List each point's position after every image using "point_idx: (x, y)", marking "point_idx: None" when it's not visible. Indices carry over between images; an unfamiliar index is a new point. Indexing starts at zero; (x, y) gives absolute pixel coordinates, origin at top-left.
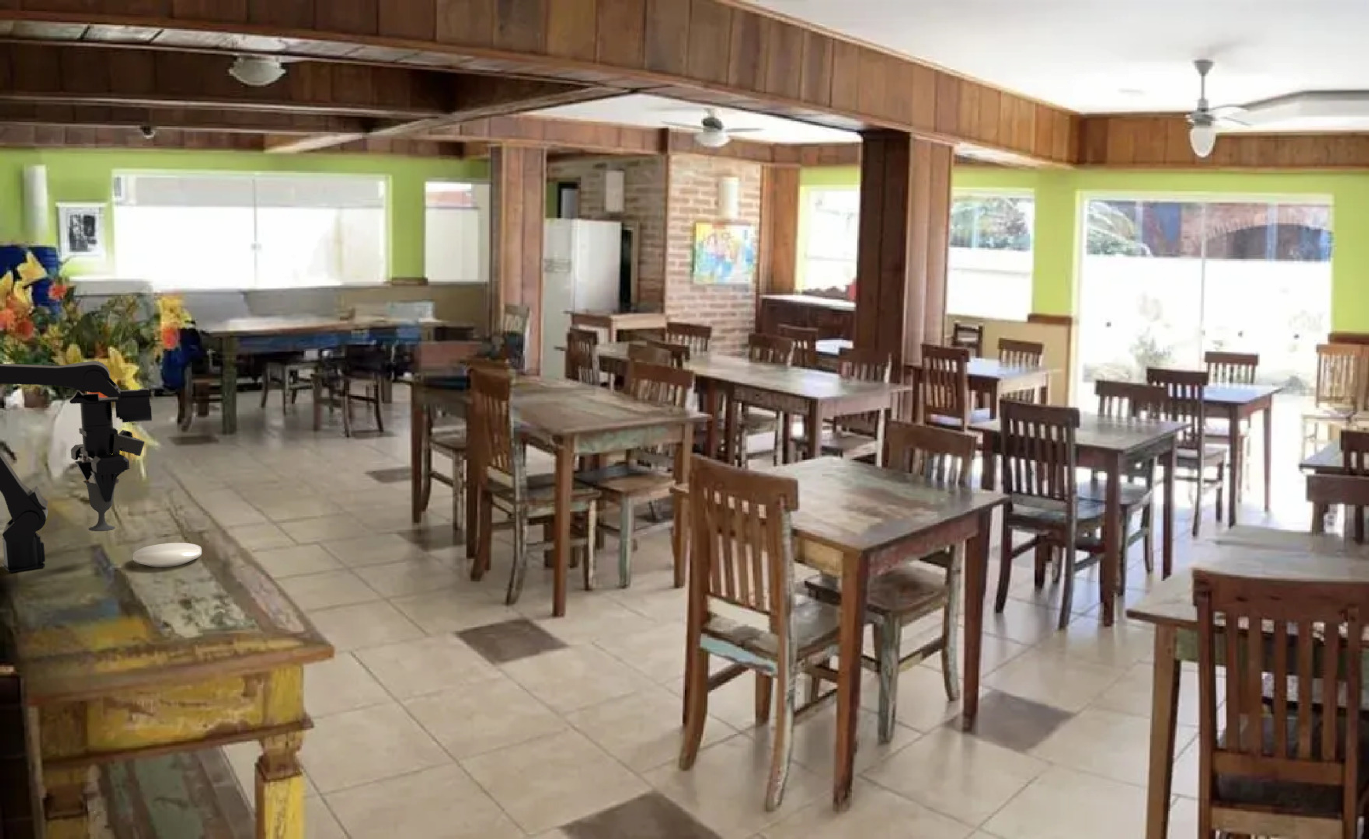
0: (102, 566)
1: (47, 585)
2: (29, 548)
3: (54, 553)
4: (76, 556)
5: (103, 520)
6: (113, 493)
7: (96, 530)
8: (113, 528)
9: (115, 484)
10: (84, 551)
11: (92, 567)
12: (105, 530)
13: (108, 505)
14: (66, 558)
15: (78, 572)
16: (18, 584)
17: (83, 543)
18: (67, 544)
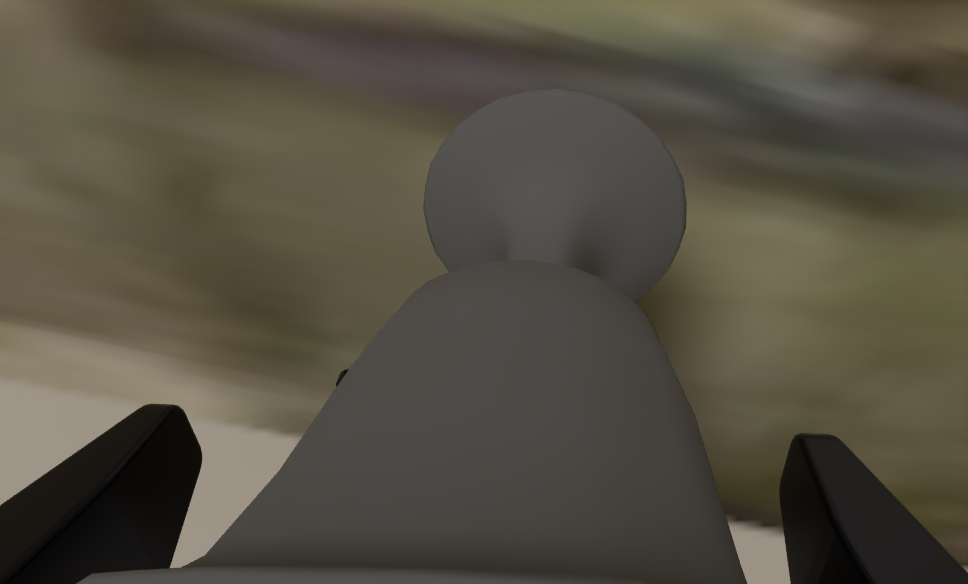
0: (715, 130)
1: (867, 439)
2: None
3: (220, 271)
4: (348, 196)
5: (579, 257)
6: (613, 405)
7: (647, 290)
8: (645, 127)
9: (640, 566)
10: (238, 126)
11: (689, 188)
12: (685, 219)
13: (664, 351)
14: (368, 251)
15: (742, 278)
16: (733, 504)
17: (11, 78)
18: (18, 167)
